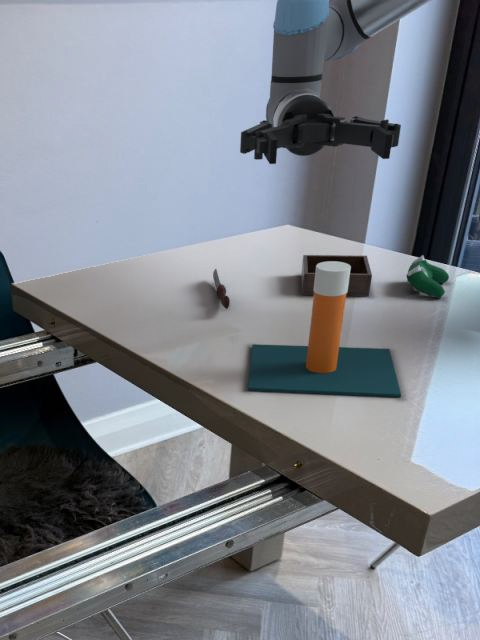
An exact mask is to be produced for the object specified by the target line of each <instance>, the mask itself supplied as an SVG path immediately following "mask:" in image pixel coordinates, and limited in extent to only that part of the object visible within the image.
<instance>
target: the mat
mask: <svg viewBox="0 0 480 640" xmlns="http://www.w3.org/2000/svg"><path fill="white" fill-rule="evenodd" d="M307 351H308V345H285V344H284V345H283V344H256V343H253V344H252V347H251V355H250V356H251V357H250V365H249V367H250V368H249V376H248V384H247V385H248V386H247V391H251V392H274V393H291V394H292V393H293V394H295V393H296V394H314V395H315V394H319V395H338V396H339V395H340V396H342V395H343V396H360V397H365V396H366V397H386V398H401V397H402V393H401V389H400V385H399V382H398V381H399V380H398V378H397V377H398V376H397V373H396V369H395V366H394V361H393V358H392V355H391V350H390V348H379V347H377V348H376V347H375V348H374V347H349V346H348V347H345V346H344V347H343V346H339V352H338V359H337V367H336V370H335V371H333V372H330V373H315V372H312V371H309V370H308V369H307V368H306V360H307Z"/></svg>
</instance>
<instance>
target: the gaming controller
mask: <svg viewBox="0 0 480 640" xmlns="http://www.w3.org/2000/svg"><path fill="white" fill-rule="evenodd" d="M449 278H450V275H449V273H448V272H447V271H446V270H445V269H443V268H442V267H439V266H436V265H433V264H431V263H429V262H428V261H427V260H426V259H425V256H424V255H420V257H417V258H416V259H414V260H413V261H412V262H411V264H410V266H409V268H408V270H407V273H406V279H407V281H408V283H409V286H410V287H412V288H413V290H414V291H415V292H420V293H422V294H424V295H426V296H429V297H432V298H435V299H441V298H442V297H443V296H444V295H445V293H446V291H445V288H444V287H443V285H441V284H445V283H447V282H448V281H449Z"/></svg>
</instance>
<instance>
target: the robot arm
mask: <svg viewBox="0 0 480 640" xmlns="http://www.w3.org/2000/svg"><path fill="white" fill-rule="evenodd" d="M431 1H432V0H332V1H330V0H277V1H276V6H275V14H274V20H273V24H272V28H273V40H272V41H273V44H272V60H271V61H272V62H271V76H270V77H271V78H270V85H269V87H270V88H269V99H268V101H267V104H266V108H265V120H261V121H259V124H256V125H254V126H252V127H249V128H247V129H245V130H243V131H241V132H240V143H239V145H240V146H239V148H240V149H239V153H240V154H243V155H246V154H247V153H250V152H253V151H254V152H253V153H254V155H253V159H254V160H258V161H259V160H263V158H264V157H265V159H266V160H267V162H268V163H269V165H276V164H277V156H278V149H281V148H282V149H286V150H287V151H288V152H289V153H290V154H293V155H295V156H300V157H306V156H311V155H314V154H317V153H318V152H320V151H321V150H322V149H324V148H325V147H326V146H327V147H334V148H335V147H340V146H343V145H352V146H359V147H360V146H361V147H369V148H370V151H372V152H373V153H374V154H376V155H377V156H378V157H380V158H381V159H382V160H389V159H390V156H391V150H392V148H395V147H398V146H399V143H400V136H401V128H402V125H401V124H400V123H392V122H389V121H390V120H389V119H388V118H387V119H383V120H380V121H379V120H374V119H367V118H364V117H361V116H359V115H354V116H353V117H351V118H350V122H349V121H347V119H346V117H343V116H335V115H334V112H333V110H332V108H331V107H330V105H329V104H328V103H327V102H326V101H324V99H322V98H321V93H322V92H321V91H322V80H323V73H324V72H323V71H324V62H328V61H335V60H340V59H343V58H344V57H346V56H348V55H350V54H352V52H353V53H354V51H356V49H357V48H359V46H360V45H361V44H363V43H365V42H366V41H368V40H370V38H373V37H374V36H375V35H377V34H379V33H380V32H382V31H383V30H385V29H387V28H389V27H390V26H392V25H393V24H395V23H397V22H398V21H400V20H401V19H403V18H405V17H406V16H408V15H410V14H411V13H413V12H415V11H416V10H419V8H421V7H423V6H424V5H426V4H429V2H431Z"/></svg>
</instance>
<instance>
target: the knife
mask: <svg viewBox="0 0 480 640" xmlns="http://www.w3.org/2000/svg"><path fill="white" fill-rule="evenodd" d="M212 277H213V281H214V285H215V288H216V291H215V293H216V298H217V300H219V301H220V304H221V306H222V307H224V309H225V310H228V309H229V307H230V304H231V302H230V298H229V296H228V295H226V294H227V290H226V286H225V285H223V284H222V283H221V280H220V278H219V277H220V276H219V273H218V270H217V268H214V270H213V272H212Z"/></svg>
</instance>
